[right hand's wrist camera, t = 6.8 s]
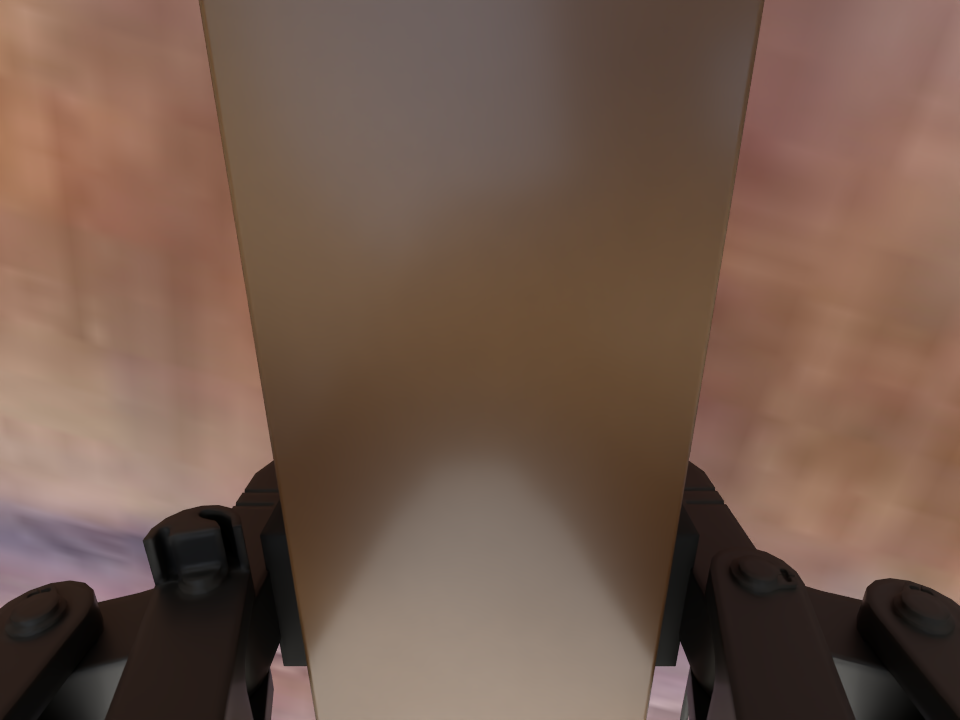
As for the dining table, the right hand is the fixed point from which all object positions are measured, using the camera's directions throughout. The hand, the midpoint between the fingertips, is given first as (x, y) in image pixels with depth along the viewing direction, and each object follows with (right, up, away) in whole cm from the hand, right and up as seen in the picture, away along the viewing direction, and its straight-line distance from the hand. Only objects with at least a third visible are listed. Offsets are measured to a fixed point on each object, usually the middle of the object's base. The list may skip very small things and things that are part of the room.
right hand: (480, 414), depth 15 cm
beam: (0, +28, -10) cm, 30 cm away
